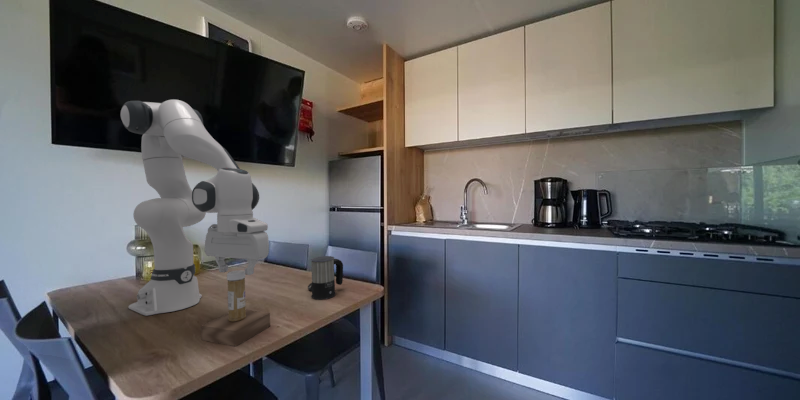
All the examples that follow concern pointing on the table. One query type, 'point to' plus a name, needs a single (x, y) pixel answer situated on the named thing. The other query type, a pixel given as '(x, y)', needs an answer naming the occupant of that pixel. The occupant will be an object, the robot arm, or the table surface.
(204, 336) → the walnut pedestal
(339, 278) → the milk frother
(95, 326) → the table surface
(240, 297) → the sprinkles bottle
